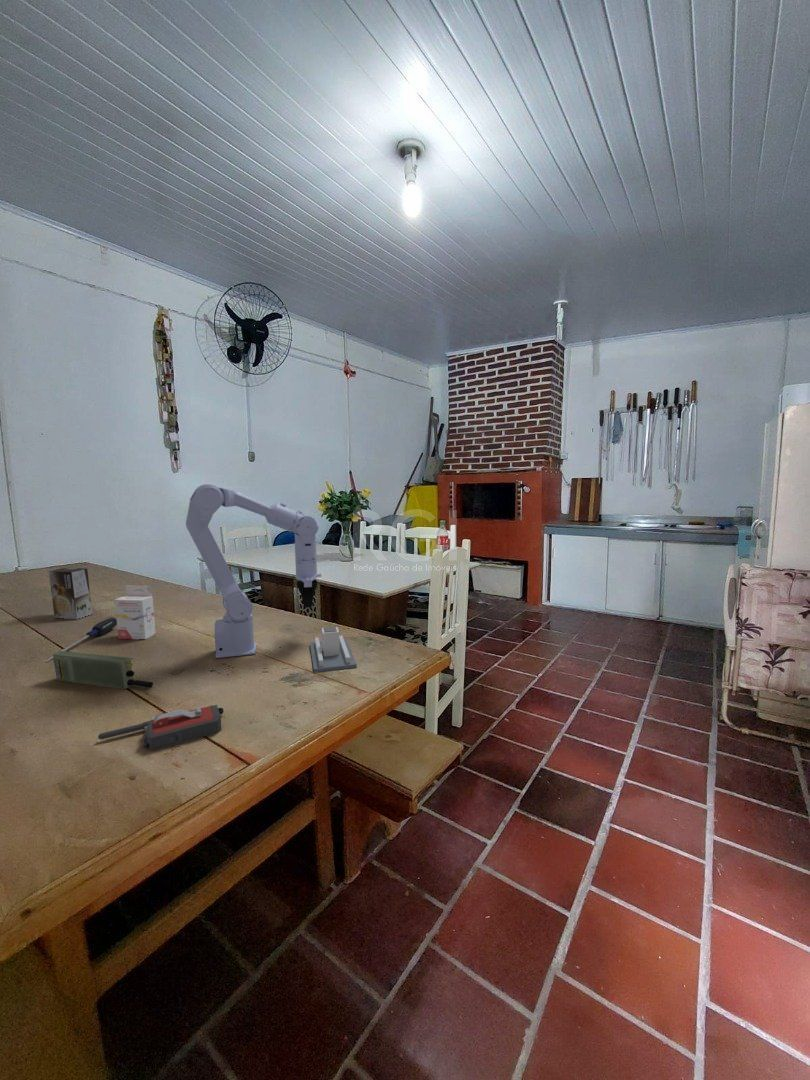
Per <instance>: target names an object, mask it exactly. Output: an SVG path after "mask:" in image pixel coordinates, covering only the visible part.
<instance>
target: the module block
mask: <svg viewBox="0 0 810 1080" xmlns="http://www.w3.org/2000/svg"><path fill="white" fill-rule="evenodd" d="M339 636H340V631H339V628H338V626H331V627H329V626H328V627H324V628H323V627H321V641H322V651H323V656H333V655H340V647H339Z"/></svg>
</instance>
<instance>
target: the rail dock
mask: <svg viewBox="0 0 810 1080" xmlns="http://www.w3.org/2000/svg"><path fill="white" fill-rule="evenodd" d="M309 646H310V647H309V648H310V654H311V662H312V668H313V673H320V672H330V671H339V670H347V669H354V668H358V667H357V661H356V660H355V657H354V654H353V652H352V649H351V647H350V644H349V641H348V639H347V638H344V636H343V635H342V634H341V635H340V634H339V647H340V655H333V656H323V651H322V640H321V641H320V638H319V637H315V638H314V641H312V642H309Z"/></svg>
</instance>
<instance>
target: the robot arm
mask: <svg viewBox="0 0 810 1080" xmlns="http://www.w3.org/2000/svg"><path fill="white" fill-rule="evenodd" d="M221 507H223V508H230V507H238V508H241V509H243V510H247V511H249V512H252V513H255V514H258V515H260V516H264V517H265V520H266V522H267V523H268V524H270V525H272V526H275V527H277V528H280V529H282V530H284V531H288V532H290V533H291V532H293V534H294V557H295V558H294V560H295V575H294V576H295V577H294V578H295V579H296V580H298V581H296V587H297V588H298V591H299V593H300V596H301V601H302V605H303V608H312V607H313V601H314V596H315V591H316V588H317V586H318V581H317V578H320V577H322V573H321V572H318V570H317V569H318V562H317V540H316V535H317V533H318V531H319V525H318V523H317V520H316V519H315V518H314V517H312V516H308V515H305V514H304V513H303V511H301V510H298V511H296V510H294V509H292V508H290V507H287V504H285V503H283V502H280V503H278V502H277V503H273V504H271V505H268V504H266V503H264V502H261V501H259V500H257V499H255V498H253V497H250V496H247V495H246V494H243V493H242V492H241V493H240V492H239V491H236V490H233V489H229V488H224V487H218V486H216V485H214V484H207V483H206V484H202V485H199V486H197V487H196V489H195V490H194V492H193V493H192V495H191V497H190V498H189V504H188V509H187V514H186V520H185V526H186V529H187V530H188V532H189V534H190V536H191V538H192V541H193V543H194V544H195V546H196V549H197V550H198V552H199V554H200V556H201V559H202V560H203V561H204V564H205V565H206V568H207V569H208V571H209V573H210V575H211V577H212V580H214V583H215V585H216V587H217V589H218V590H219V592H220V594H221V597H222V605H223V607H224V609H225V614H224V616H223V617H222V618H221V619H216V620H215V622H214V643H215V645H214V646H215V658H216V659H220V658H230V657H239V656H250V655H255V654H256V650H257V645H258V642H256V641H255V634H254V618H253V617H254V616H253V615H254V614H253V609H254V608H253V603H252V601H251V599H249V598H248V595H247V593H245V592H244V591H243V590H242V589H241V588H240V587H239V585H238V582H237V581H236V579H235V577H234V575H233V573H232V571H231V569H230V567H229V565H228V563H227V562H226V560H225V558H224V556H223V554H222V552H221V549H220V547H219V545H218V543H217V541H216V539H215V538H214V536H213V534H212V532H211V530H210V527H209V525H210V522H211V520H212V519H213V515H214V514H215V513H216V512H217V511H218V510H219V509H220V508H221Z"/></svg>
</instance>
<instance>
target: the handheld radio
mask: <svg viewBox="0 0 810 1080" xmlns="http://www.w3.org/2000/svg"><path fill="white" fill-rule="evenodd" d="M52 656H53V659H52V660H53V665H54V669H55V677H56V680H57V681H59V682H68V683H74V684H82V685H93V686H100V687H109V688H113V689H114V688H115V689H116V688H117V689H125V690H126V689H128V688H131V687H133V686H134V687H140V688H147V689H150V688H152V687H153V686H154V682H153V681H147V680H140V679H134V677H133V676H135V672H134V670H133V668H132V667H133V666H134V665H133V664H134V663H133V662H132V661H133V659H134V658H133V657H126V656H117V655H107V654H96V653H87V652H86V653H85V652H78V651H76V652H75V651H69V650H67V651H62V650H57V652H56V651H55V652H54V653H52Z"/></svg>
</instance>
